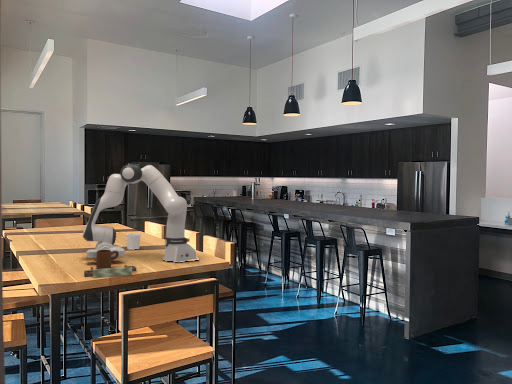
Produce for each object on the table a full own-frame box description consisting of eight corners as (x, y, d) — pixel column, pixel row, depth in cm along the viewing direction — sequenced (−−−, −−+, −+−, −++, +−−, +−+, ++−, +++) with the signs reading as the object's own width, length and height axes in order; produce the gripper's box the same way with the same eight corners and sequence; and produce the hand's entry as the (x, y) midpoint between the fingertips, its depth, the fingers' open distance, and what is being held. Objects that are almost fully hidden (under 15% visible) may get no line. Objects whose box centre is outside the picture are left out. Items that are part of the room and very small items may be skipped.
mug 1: (115, 265, 231) (116, 248, 231) (121, 267, 225) (121, 250, 225) (93, 267, 223) (94, 250, 223) (99, 270, 217) (99, 252, 217)
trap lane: (133, 267, 226) (133, 260, 226) (139, 274, 211) (139, 267, 210) (83, 270, 214) (83, 263, 214) (85, 278, 199) (85, 270, 199)
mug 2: (142, 248, 287) (142, 233, 286) (137, 250, 278) (137, 235, 277) (126, 247, 288) (127, 233, 287) (121, 249, 279) (121, 234, 278)
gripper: (85, 246, 234) (87, 250, 222) (122, 245, 243) (126, 249, 231) (85, 257, 235) (86, 262, 222) (122, 255, 244) (125, 260, 231)
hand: (107, 255), depth 227 cm, fingers closed
